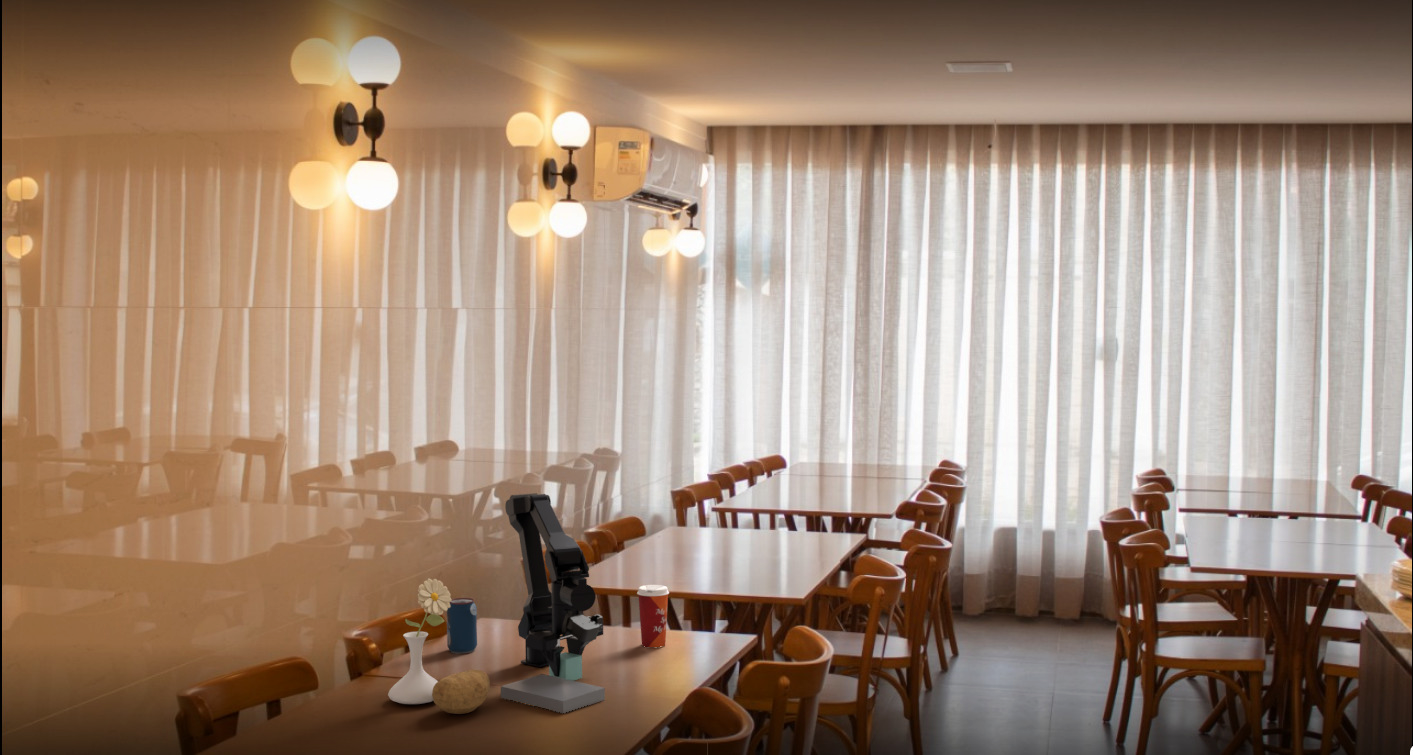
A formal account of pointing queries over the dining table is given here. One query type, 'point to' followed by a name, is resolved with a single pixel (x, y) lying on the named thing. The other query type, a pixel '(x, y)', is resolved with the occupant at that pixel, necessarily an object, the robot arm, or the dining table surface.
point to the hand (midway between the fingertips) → (565, 673)
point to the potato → (461, 691)
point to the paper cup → (653, 614)
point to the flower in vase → (421, 646)
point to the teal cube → (569, 666)
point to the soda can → (462, 625)
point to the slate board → (553, 693)
